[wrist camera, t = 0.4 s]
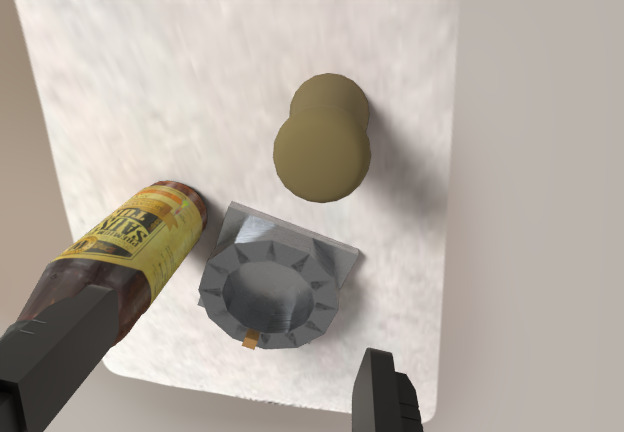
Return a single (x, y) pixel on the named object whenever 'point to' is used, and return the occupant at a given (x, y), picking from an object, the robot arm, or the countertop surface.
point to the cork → (324, 140)
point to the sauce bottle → (125, 254)
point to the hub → (273, 280)
